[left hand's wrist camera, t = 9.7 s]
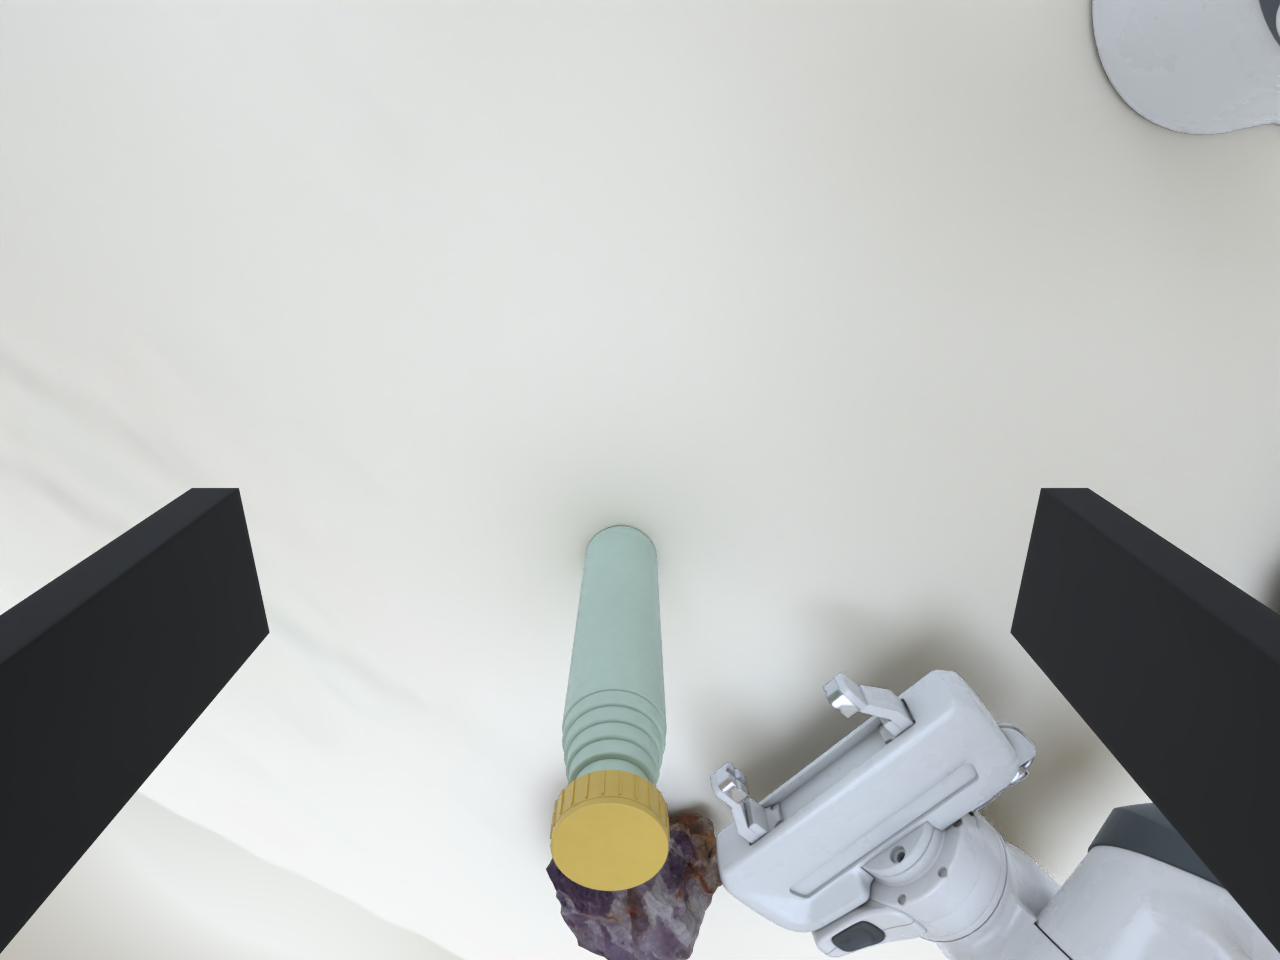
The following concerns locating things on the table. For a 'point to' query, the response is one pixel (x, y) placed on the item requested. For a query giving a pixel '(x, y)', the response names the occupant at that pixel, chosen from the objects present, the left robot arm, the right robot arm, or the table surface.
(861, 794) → the right robot arm
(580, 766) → the bottle
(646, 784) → the cap
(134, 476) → the table surface
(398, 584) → the table surface
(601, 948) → the rock
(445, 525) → the table surface
